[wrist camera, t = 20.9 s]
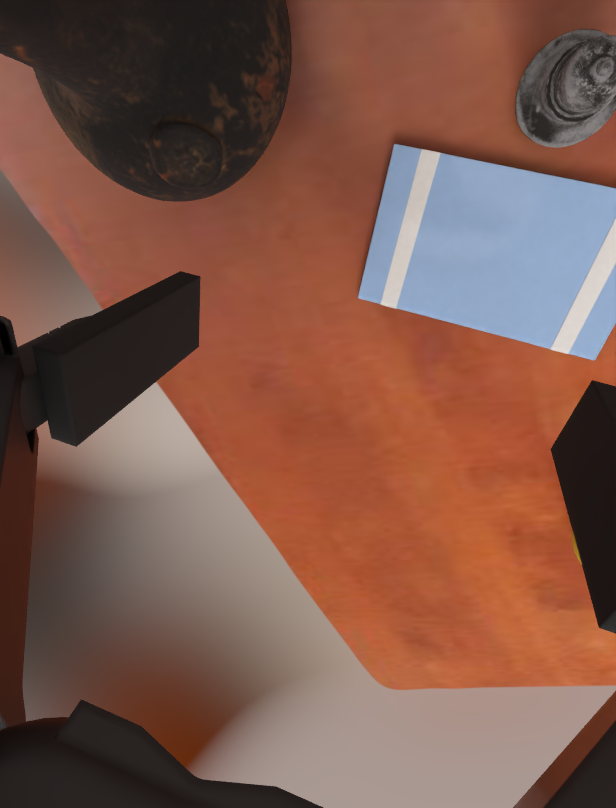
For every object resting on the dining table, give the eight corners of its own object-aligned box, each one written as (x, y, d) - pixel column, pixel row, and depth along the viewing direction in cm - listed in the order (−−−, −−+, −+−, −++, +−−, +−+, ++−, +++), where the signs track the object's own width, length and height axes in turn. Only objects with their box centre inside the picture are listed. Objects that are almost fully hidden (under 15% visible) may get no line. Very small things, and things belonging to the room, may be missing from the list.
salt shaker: (622, 37, 28) (712, -34, 18) (596, 146, 30) (662, 139, 20) (519, 47, 29) (548, -12, 19) (503, 150, 32) (522, 145, 22)
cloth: (593, 358, 37) (595, 361, 36) (358, 296, 40) (357, 298, 39) (680, 201, 30) (685, 201, 30) (395, 143, 34) (394, 143, 33)
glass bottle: (183, 229, 42) (-174, 316, 18) (70, 16, 36) (-650, -250, 13) (354, 126, 34) (114, 47, 11) (244, -167, 28) (-796, -1724, 5)
